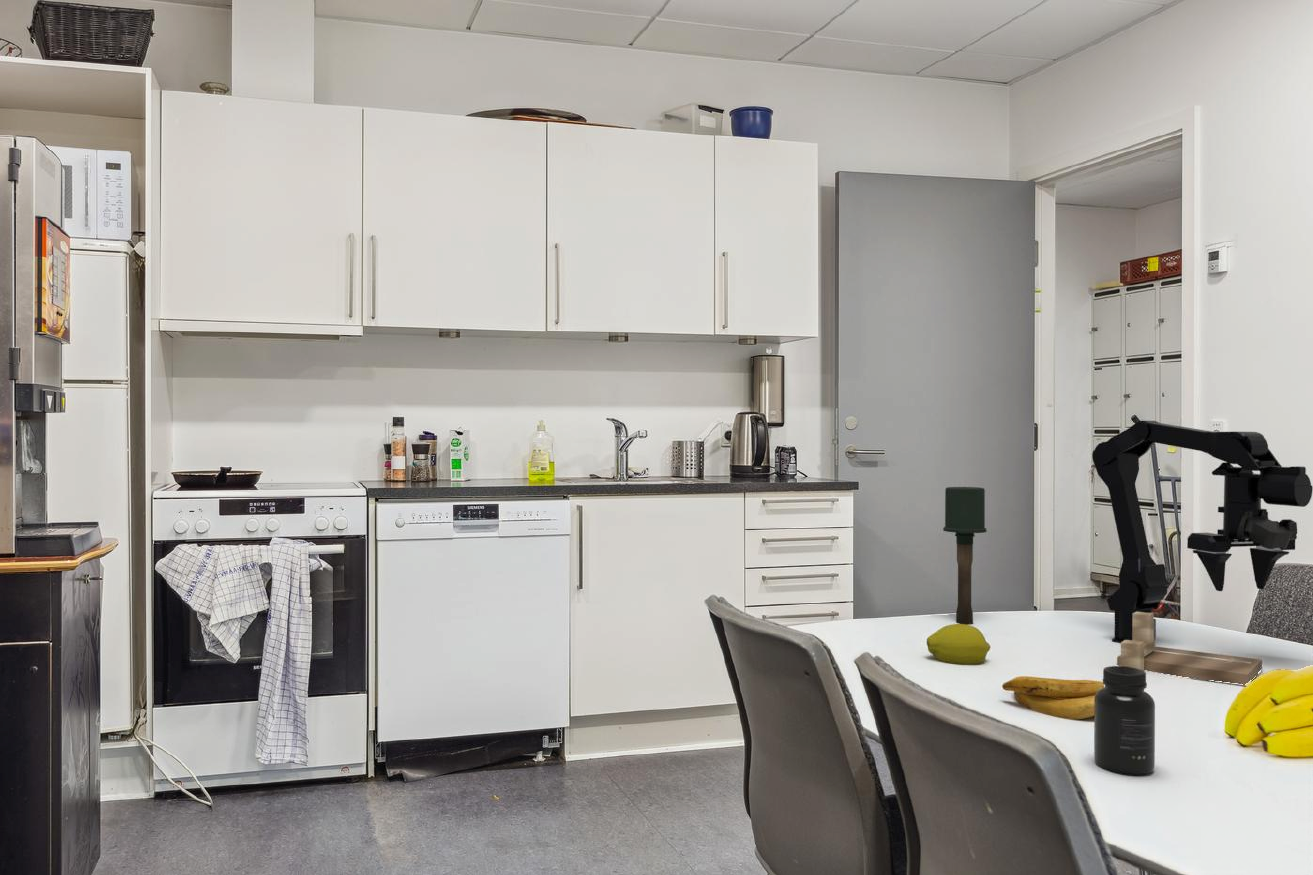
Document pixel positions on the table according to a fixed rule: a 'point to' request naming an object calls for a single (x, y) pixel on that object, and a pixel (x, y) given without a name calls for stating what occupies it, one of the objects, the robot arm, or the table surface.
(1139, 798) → the table surface
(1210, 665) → the board
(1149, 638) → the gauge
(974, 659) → the lemon
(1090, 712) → the banana
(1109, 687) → the supplement bottle
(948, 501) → the potato masher grenade
